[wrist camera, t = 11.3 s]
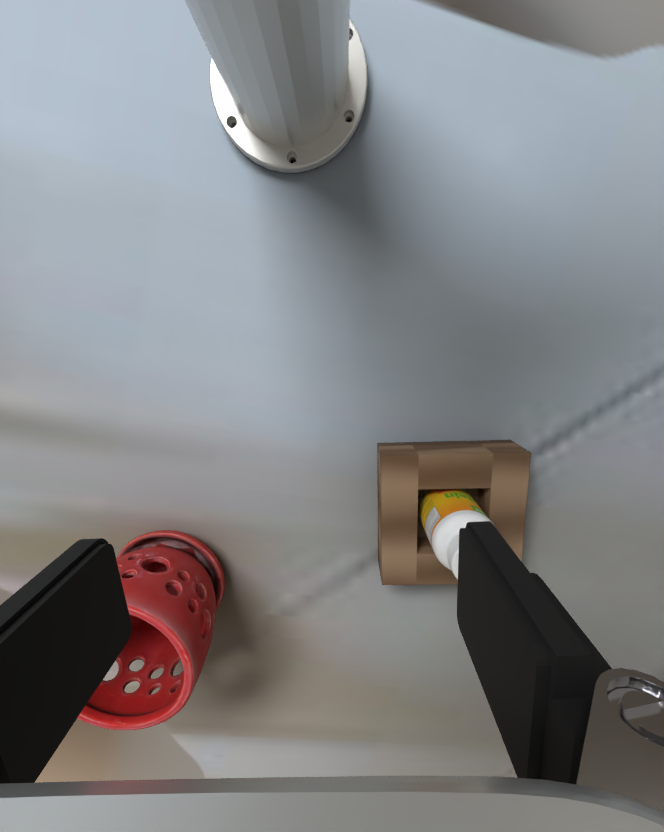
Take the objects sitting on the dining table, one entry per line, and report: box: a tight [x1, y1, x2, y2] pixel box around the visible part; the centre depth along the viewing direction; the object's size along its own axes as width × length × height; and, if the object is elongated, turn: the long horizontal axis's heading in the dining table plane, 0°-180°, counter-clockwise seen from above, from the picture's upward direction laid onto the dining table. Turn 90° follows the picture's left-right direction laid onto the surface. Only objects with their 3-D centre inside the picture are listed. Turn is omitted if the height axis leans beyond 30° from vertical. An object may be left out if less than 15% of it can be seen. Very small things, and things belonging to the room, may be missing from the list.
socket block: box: [377, 440, 531, 585], centre depth 36 cm, size 13×13×4 cm
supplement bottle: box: [418, 489, 496, 579], centre depth 32 cm, size 5×5×10 cm
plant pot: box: [77, 530, 225, 730], centre depth 34 cm, size 13×13×12 cm
